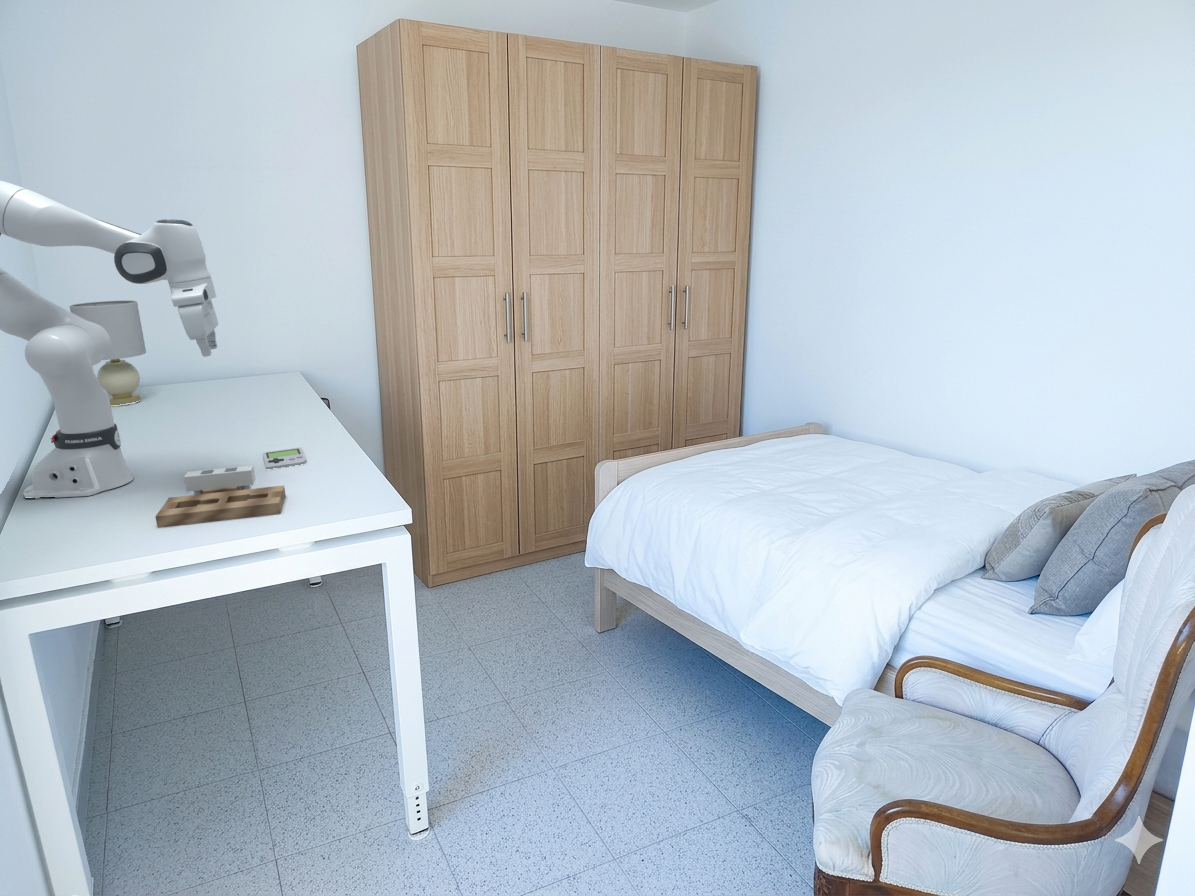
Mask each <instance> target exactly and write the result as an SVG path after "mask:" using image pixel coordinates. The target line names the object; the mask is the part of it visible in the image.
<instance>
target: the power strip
mask: <svg viewBox="0 0 1195 896" xmlns="http://www.w3.org/2000/svg"><path fill="white" fill-rule="evenodd" d="M255 475H256V474H255V468H254V465H244V466H233V467H224V468H214V469H202V470H195V471H194V470H192V471H187V472H186V474H185V475H184V476H183V480H184V484H185V491H186V492H187V493H188V492H193V495H198V494H203V490H208V489H218V488H228V487H237V486H241V490H246V489H252V488H251V487H252V486H253V485H254V484H255V482H256V476H255Z"/></svg>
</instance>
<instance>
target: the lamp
mask: <svg viewBox="0 0 1195 896" xmlns="http://www.w3.org/2000/svg"><path fill="white" fill-rule="evenodd" d="M138 305H139V304H138V301H137V300H131V299H130V300H127V299H126V300H106V301H105V300H104V301H102V300H101V301H91V302H83V303H82V302H81V303H75V304H71V305H69V306H68V307H69V311H70V312H72V313H73V314H75V315H77V316H79V317H81V318H83V319H85V320H87V321H90V322H93V323H96V324H98V325H100V326H101V327H103V328H104V329H105V330H106V331H107V333H108V334H109V336H110V339H111V348H110V350H109V352H108V354H107V355H106V356H105V357H104V359H103V360H102V361H105V363H104V364H103V365H101V367H99V369H98V371H97V375H96V377H97V379H98V381H99V383H100V385H101V386H102V388H103V389H104V390H106V392H107V393H108V395H109V400H110V405H120V404H126V403H132V402H136V401H139V400H140V399H141V400H142V398H141V394H140V393H139V392H135V391H136V390H137V389H138V388H139V384H140V382H141V377H140V373H139V370H138V369H137V368H136V367H135V366H134V365H133V364H132V363H130V362H128V361H126V359H129V358H133V357H134V358H135V357H139V356H142V355H145V354H147V349H146V344H145V339H144V333H143V327H142V321H141V316H140V310H139V306H138Z"/></svg>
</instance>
